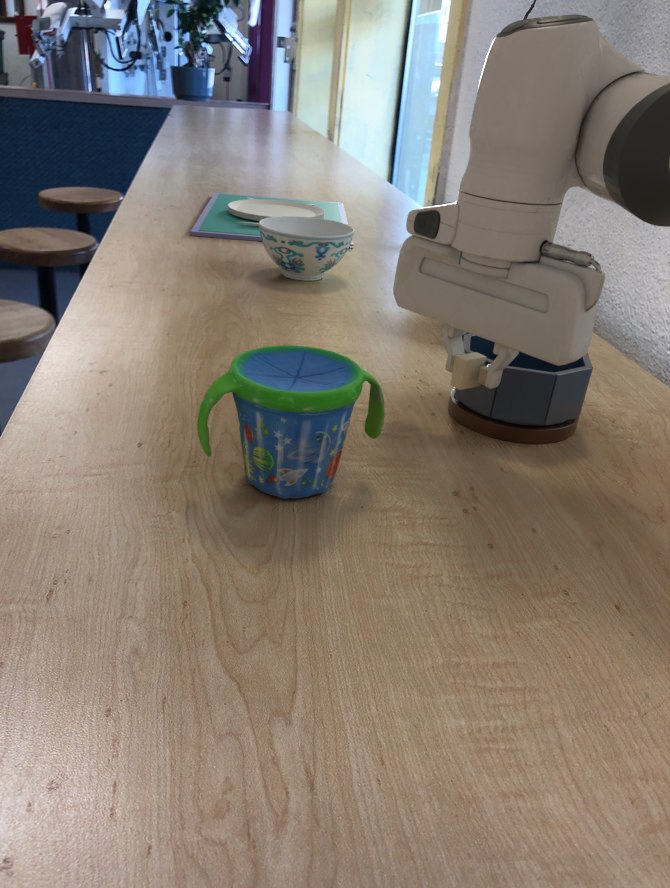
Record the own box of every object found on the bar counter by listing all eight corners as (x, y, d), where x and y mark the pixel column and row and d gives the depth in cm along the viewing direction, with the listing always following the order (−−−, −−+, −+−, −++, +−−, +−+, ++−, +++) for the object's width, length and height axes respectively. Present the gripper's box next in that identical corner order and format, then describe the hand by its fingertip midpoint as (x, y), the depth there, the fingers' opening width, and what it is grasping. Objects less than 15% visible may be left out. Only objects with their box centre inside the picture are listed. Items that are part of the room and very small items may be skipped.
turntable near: (567, 401, 87) (570, 388, 87) (584, 452, 76) (588, 438, 75) (447, 385, 89) (450, 372, 88) (447, 433, 77) (450, 419, 77)
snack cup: (206, 519, 60) (209, 395, 55) (187, 456, 69) (188, 345, 64) (396, 506, 64) (415, 389, 59) (356, 448, 73) (369, 342, 68)
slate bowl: (512, 373, 89) (523, 321, 86) (602, 415, 80) (618, 359, 77) (408, 393, 81) (417, 337, 78) (495, 441, 73) (508, 380, 70)
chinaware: (368, 282, 126) (374, 232, 123) (295, 292, 118) (299, 239, 114) (308, 260, 136) (312, 214, 132) (238, 268, 128) (239, 219, 124)
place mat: (214, 196, 185) (214, 186, 184) (342, 206, 186) (343, 196, 185) (190, 235, 146) (190, 223, 145) (352, 248, 147) (354, 235, 146)
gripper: (630, 254, 64) (584, 410, 71) (437, 206, 77) (415, 342, 84) (589, 261, 60) (545, 425, 67) (394, 209, 73) (374, 351, 80)
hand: (471, 378), depth 76 cm, fingers closed on slate bowl, 2 cm apart
